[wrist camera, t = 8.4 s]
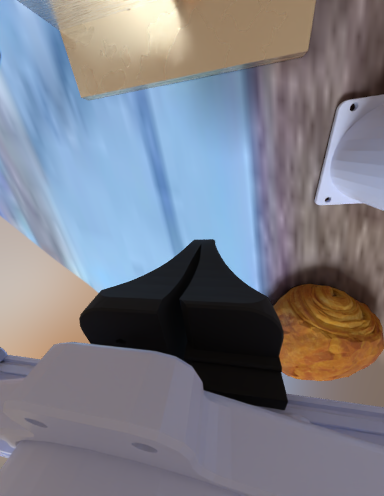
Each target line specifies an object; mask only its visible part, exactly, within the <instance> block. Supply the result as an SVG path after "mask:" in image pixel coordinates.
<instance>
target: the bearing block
mask: <svg viewBox="0 0 384 496" xmlns="http://www.w3.org/2000/svg"><path fill="white" fill-rule="evenodd" d="M18 1H19V2H20V3H22V4H23V5H25V6H26V7H27V8H29V9H30V10H32V11H33V12H34V13H36V14H37V15H39V16H40V17H41V18H43V19H44V20H46V21H47V22H48V23H50V24H51V25H53V26H54V27H55V28H57V29H58V30H60V33H61V36H62V39H63V42H64V45H65V48H66V51H67V55H68V58H69V61H70V64H71V67H72V70H73V73H74V76H75V79H76V82H77V85H78V89H79V92H80V95H81V98H83V99H86V100H94V99H99V98H104V97H109V96H114V95H118V94H123V93H128V92H133V91H138V90H143V89H148V88H153V87H158V86H163V85H168V84H173V83H178V82H183V81H188V80H192V79H197V78H202V77H207V76H212V75H217V74H222V73H227V72H232V71H237V70H242V69H247V68H252V67H257V66H262V65H266V64H271V63H276V62H281V61H286V60H291V59H296V58H301V57H303V56H304V55H305V53H306V52H307V51H308V47H309V41H310V34H311V28H312V22H313V15H314V9H315V2H316V0H18Z"/></svg>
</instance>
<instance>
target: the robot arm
mask: <svg viewBox="0 0 384 496" xmlns="http://www.w3.org/2000/svg"><path fill="white" fill-rule="evenodd" d="M352 104H354V105H355V108H354V110H353V111H350V106H351V105H352ZM327 197H329V200H328V201H325V199H326V198H327ZM315 203H316V204H318V205H333V204H353V203H365V204H368V205H370V206H373V207H375V208H378V209H380V210H383V211H384V94H383V95H376V96H370V97H363V98H357V99H350V100H346V101H344V102H342V103H341V104H340V105H339V106H338V107H337V110H336V114H335V118H334V122H333V126H332V130H331V134H330V139H329V143H328V147H327V151H326V155H325V159H324V163H323V167H322V172H321V176H320V180H319V184H318V188H317V192H316V196H315ZM80 327H81V329H82V331H83V332H84V334H85V336H86V337H87V339H88V340H89V342H90V343H91V344H85V343H77V342H69V343H59V344H55V345H53V346H52V347H51V349H50V350H49V351H48V352H47V353H46V354H45V355H44V357H43V358H42V359H41V360H40V359H33V358H26V357H18V356H12V355H7V353H6V352H5V350H3V349H2V348H1V347H0V456H2V457H6V458H8V460H7V461H6V462H5V464H4V465H3V467H2V468H1V470H0V496H384V407H378V406H370V405H362V404H355V403H349V402H342V401H335V400H327V399H320V398H313V397H306V396H299V395H291V394H286V391H285V387H284V383H283V379H282V375H281V372H282V365H281V361H280V358H279V355H280V351H281V347H282V343H283V339H284V331H283V328H282V325H281V322H280V320H279V317H278V315H277V313H276V311H275V309H274V307H273V306H272V304H271V302H270V300H269V299H268V297H266V296H265V295H263V294H261V293H260V292H258V291H256V290H254V289H253V288H251V287H250V286H248V285H247V284H245V283H244V282H243V281H242V280H240V279H239V278H238V277H237V276H236V275H235V274H234V273H233V272H232V271H231V270H230V269H229V268H228V266H227V265H226V264H225V262H224V261H223V259H222V258H221V256H220V254H219V252H218V250H217V248H216V245H215V241H214V240H213V239H210V240H194V241H192V242H191V243H190V244H189V245H188V246H187V247H186V248H185V249H184V250H182V251H181V252H180V253H179V254H178V255H176V256H175V257H174V258H173V259H171V260H170V261H168V262H167V263H166V264H164V265H162V266H161V267H159V268H157V269H155V270H153V271H152V272H150V273H148V274H146V275H144V276H141V277H139V278H137V279H134V280H132V281H129V282H126V283H123V284H120V285H117V286H114V287H111V288H107V289H104V290H101V291H100V293H99V294H98V295H97V296H96V297H95V298H94V300H93V301H92V302H91V303H90V304H89V305H88V307H87V308H86V309H85V310H84V311H83V313H82V314H81V316H80Z"/></svg>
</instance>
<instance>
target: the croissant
mask: <svg viewBox="0 0 384 496" xmlns="http://www.w3.org/2000/svg"><path fill="white" fill-rule="evenodd" d="M273 307H274V309H275V311H276V313H277V315H278V317H279V320H280V322H281V325H282V328H283V331H284V339H283V343H282V347H281V351H280V355H279V358H280V361H281V365H282V372H283V373H285V374H286V375H288V376H291V377H293V378H296V379H301V380H317V381H323V380H324V381H327V380H334V379H338V378H342V377H349V376H350V375H352V374H353V373H356V372H357V371H359V370H361V369H364V368H365V367H368V366H369V365H370V364H372V363H373V362H374V361H375V360H376V359H377V358H378V356H379V355H380V354H381V352H382V351H383V349H384V341H383V332H382V326H381V323H380V320H379V319H378V318H377V317H376V315H375V314H373V313H372V312H371V311H370V309H369V308H368V306H367V305H366V304H365V303H364V304H363V303H360V302H359V301H357V300H356V299H353V297H351V296H349V295H348V294H346V293H345V292H344V291H340V290H338V289H335V288H332V287H330V286H321V285H314V284H304V285H301V286H297V287H294V288H292V289H291V290H290V291H288V292H287V293H286V294H285V295H283V296H282V297H281V298H279V300H278V301H277V303H276V304H275V305H274V306H273Z"/></svg>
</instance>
